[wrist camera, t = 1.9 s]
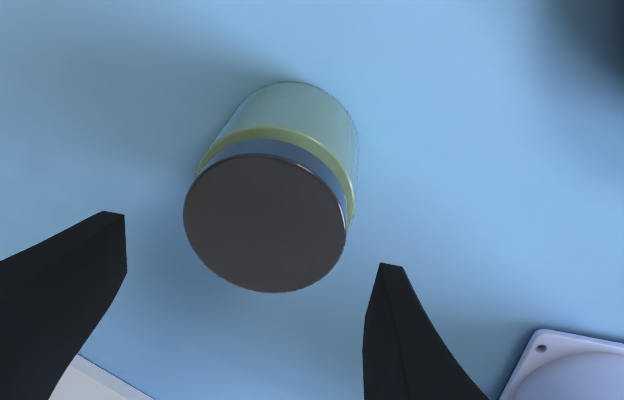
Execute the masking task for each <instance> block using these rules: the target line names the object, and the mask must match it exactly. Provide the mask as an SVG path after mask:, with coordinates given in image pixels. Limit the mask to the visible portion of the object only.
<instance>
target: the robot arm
mask: <svg viewBox="0 0 624 400" xmlns="http://www.w3.org/2000/svg"><path fill="white" fill-rule="evenodd" d="M126 274H127V258H126V238H125V219H124V215H123V214H117V213H112V212H107V211H102V212H99V213H97V214H95V215H93V216H91V217H89V218H87V219H85V220H83V221H81V222H79V223H77V224H75V225H74V226H72V227H70V228H68V229H66V230H64V231H62V232H60V233H58V234H56V235H54V236H52V237H50V238H48V239H46V240H44V241H42V242H41V243H39V244H36V245H34V246H32V247H30V248H28V249H26V250H23V251H21V252H19V253H17V254H15V255H13V256H10V257H8V258H6V259H4V260H2V261H0V400H49V398H50V396H51V394H52V393H53V391H54V389H55V387H56V385H57V383H58V382H59V380H60V378H61V377H62V375H63V374H64V372H65V371H66V369H67V367H68V366H69V364H70V363H71V362H72V360H73V359H74V357H75V356H76V354H77V353H78V352H79V350H80V349H81V347H82V346H83V344H84V343H85V341H86V340H87V339H88V337H89V336H90V334H91V333H92V331H93V330H94V329H95V327H96V326H97V324H98V323H99V321H100V320H101V318H102V317H103V315H104V314H105V312H106V311H107V310H108V308H109V307H110V305H111V304H112V302H113V300H114V298H115V296H116V294H117V292H118V290H119V288H120V286H121V284H122V282H123V280H124V278H125V276H126ZM539 345H543V346H540V347H537V346H539ZM362 354H363V380H364V400H489V399H488V398H487V396H486V395H485V394H484V393H483V392H482V391H481V390H480V389H479V388H478V387H477V385H476V384H475V383H474V382H473V381H472V380H471V379H470V377H469V376H468V375H467V374H466V372H465V371H464V370H463V369H462V367H461V366H460V365H459V363H458V362H457V361H456V359H455V358H454V357H453V355H452V354H451V352H450V351H449V350H448V348H447V347H446V345H445V344H444V342H443V341H442V339H441V337H440V336H439V334H438V333H437V331H436V329H435V328H434V326H433V325H432V323H431V321H430V319H429V318H428V316H427V314H426V312H425V311H424V309H423V307H422V305H421V303H420V301H419V299H418V297H417V295H416V293H415V291H414V289H413V287H412V285H411V283H410V281H409V279H408V277H407V275H406V272H405V270H404V269H403V267H402V266H396V265H391V264H385V263H380V264H379V268H378V272H377V275H376V279H375V283H374V286H373V290H372V294H371V297H370V301H369V304H368V308H367V312H366V315H365V323H364V335H363V349H362ZM499 400H624V344H623V343H618V342H613V341H607V340H602V339H597V338H591V337H586V336H581V335H576V334H570V333H565V332H560V331H554V330H549V329H540V330H537V331H536V332H534V334H533V335H532V337H531V339H530V341H529V343H528V345H527V347H526V348H525V350H524V352H523V354H522V356H521V358H520V360H519V362H518V364H517V366H516V368H515V370H514V372H513V374H512V375H511V377H510V379H509V381H508V383H507V385H506V387H505V389H504V391H503V393H502V395H501V397H500V399H499Z"/></svg>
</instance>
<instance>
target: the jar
mask: <svg viewBox="0 0 624 400" xmlns="http://www.w3.org/2000/svg"><path fill="white" fill-rule="evenodd" d="M358 157H359V141H358V134H357V131H356V127H355V125H354V123H353V121H352V119H351V117H350V115H349V114H348V112H347V111H346V110H345V108H344V107H343V106H342V105H341V104H340V103H339V102H338V101H337V100H336V99H335V98H333V97H332V96H331V95H329V94H328V93H326V92H324V91H322V90H321V89H318V88H316V87H313V86H311V85H307V84H303V83H295V82H282V83H276V84H272V85H268V86H265V87H263V88H261V89H258V90H257V91H255V92H253V93H252V94H250V95H249V96H248V97H247V98H246V99H245V100H244V101H243V102H242V103H241V104H240V105H239V106H238V108H237V109H236V111H235V112H234V113H233V115H232V116H231V118H230V119H229V120H228V122H227V123H226V125H225V126H224V127H223V129H222V130H221V132H220V133H219V134H218V136H217V137H216V139H215V140H214V142H213V143H212V144H211V146H210V147H209V149H208V150H207V151H206V153H205V154H204V156H203V157H202V159H201V161H200V163H199V165H198V168H197V171H196V174H195V179H194V182H193V183H192V185H191V186H190V188H189V190H188V192H187V195H186V198H185V202H184V208H183V222H184V227H185V232H186V235H187V238H188V241H189V243H190V245H191V247H192V249H193V250H194V252H195V253H196V255H197V256H198V257H199V259H200V260H201V261H202V262H203V263H204V264H205V265H206V266H207V267H208V268H209V269H210V270H211V271H212V272H214V273H215V274H216V275H218V276H219V277H221V278H222V279H224V280H226V281H227V282H229V283H232V284H234V285H236V286H238V287H241V288H244V289H247V290H251V291H256V292H262V293H286V292H292V291H296V290H299V289H303V288H305V287H308V286H310V285H312V284H314V283H315V282H317V281H319V280H320V279H322V278H323V277H324V276H325V275H327V274H328V273H329V272H330V270H331V269H332V268H333V267H334V266H335V265H336V263H337V262H338V260H339V258H340V256H341V254H342V252H343V249H344V246H345V242H346V235H347V232H348V230H349V228H350V226H351V223H352V220H353V217H354V210H355V199H356V185H357V171H358Z"/></svg>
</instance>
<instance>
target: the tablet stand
mask: <svg viewBox="0 0 624 400" xmlns="http://www.w3.org/2000/svg"><path fill="white" fill-rule="evenodd" d="M49 400H154V399H153V398H151V397H149V396H147V395H146V394H144V393H142V392H141V391H139V390H137V389H135V388H134V387H132V386H130V385H129V384H127V383H125V382H124V381H122V380H120V379H118V378H117V377H115V376H113V375H112V374H110V373H108V372H106V371H105V370H103V369H101V368H100V367H98V366H96V365H95V364H93V363H91V362H89V361H88V360H86V359H84V358H83V357H81V356H79V355H77V354H76V356H75V357H74V359H73V360H72V362H71V363H70V364H69V366H68V367H67V369H66V371H65V372H64V374H63V375H62V377H61V378H60V380H59V382H58V383H57V385H56V387H55V389H54V391H53V393H52V394H51V396H50V398H49Z"/></svg>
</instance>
